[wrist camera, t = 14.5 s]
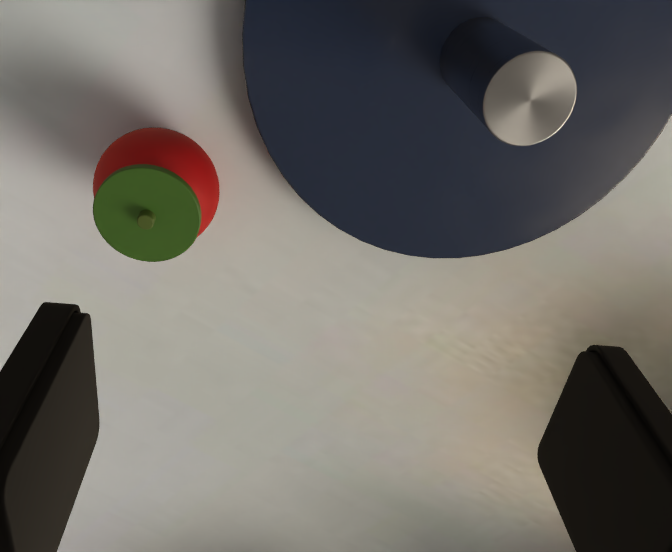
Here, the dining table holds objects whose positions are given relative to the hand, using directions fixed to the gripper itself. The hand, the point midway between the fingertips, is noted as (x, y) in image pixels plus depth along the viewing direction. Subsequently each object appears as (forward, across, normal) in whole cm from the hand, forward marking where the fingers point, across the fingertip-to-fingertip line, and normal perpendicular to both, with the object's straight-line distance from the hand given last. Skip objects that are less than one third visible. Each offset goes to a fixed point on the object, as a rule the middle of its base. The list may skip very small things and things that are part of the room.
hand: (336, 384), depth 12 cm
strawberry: (+17, +6, +3) cm, 18 cm away
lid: (+17, -6, -3) cm, 18 cm away
